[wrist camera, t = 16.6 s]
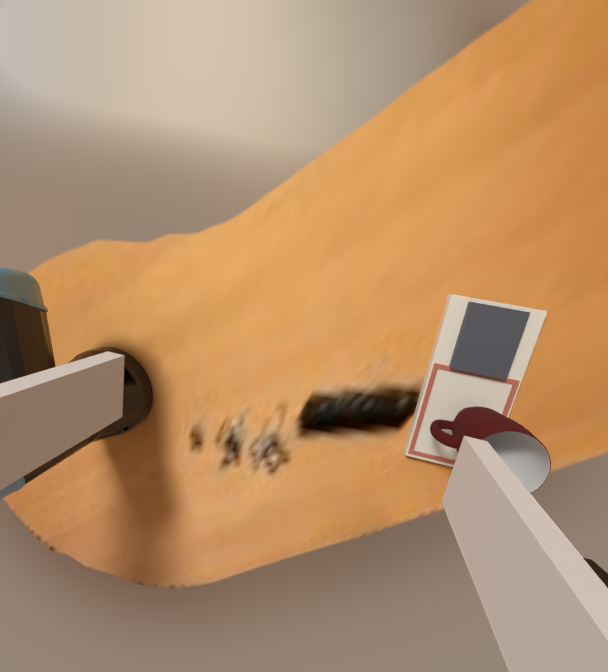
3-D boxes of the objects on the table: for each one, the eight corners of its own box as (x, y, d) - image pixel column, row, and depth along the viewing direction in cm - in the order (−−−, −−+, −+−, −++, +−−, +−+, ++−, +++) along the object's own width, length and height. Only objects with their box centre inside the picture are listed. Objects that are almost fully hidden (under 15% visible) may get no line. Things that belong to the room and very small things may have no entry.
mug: (419, 442, 42) (439, 492, 32) (422, 390, 40) (444, 426, 31) (499, 448, 40) (545, 502, 30) (506, 394, 39) (557, 433, 29)
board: (403, 450, 44) (406, 458, 42) (448, 293, 38) (453, 294, 36) (483, 470, 42) (489, 479, 40) (541, 310, 37) (551, 312, 35)
